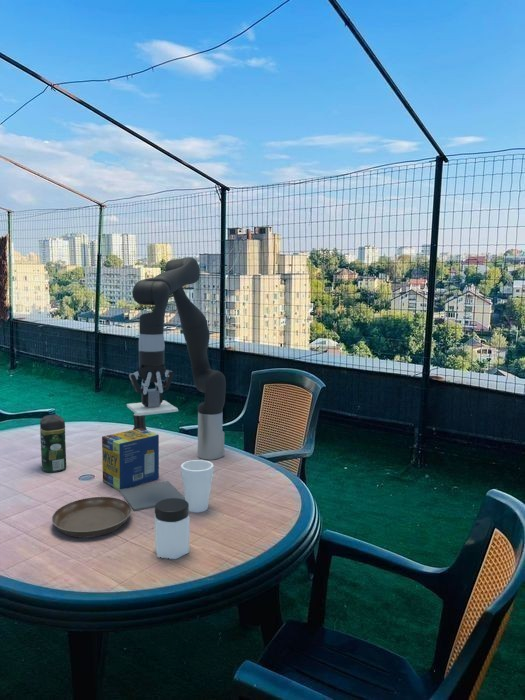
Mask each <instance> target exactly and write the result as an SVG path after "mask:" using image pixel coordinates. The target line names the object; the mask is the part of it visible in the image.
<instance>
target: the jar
mask: <svg viewBox="0 0 525 700" xmlns="http://www.w3.org/2000/svg"><path fill="white" fill-rule="evenodd" d="M189 513H190V511H189V504H188V502H187V501H185V500H183V499H179V498H168V499H164V500H161V501H159V502H158V503H156V505H155V507H154V550H155V554H156V556H157V557H156V558H160V557H161V558H162V559H168V558H169V560H176V559H179V558H181V557H183V556H185V555H186V554H189V553H190V533H191V532H190V522H191V521H190V514H189ZM161 558H160V559H161Z"/></svg>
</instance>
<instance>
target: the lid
mask: <svg viewBox="0 0 525 700" xmlns="http://www.w3.org/2000/svg"><path fill="white" fill-rule="evenodd" d="M126 407H127V408H128V409H129V410H131V412H132V413H134V414H137V415H138V416H141V415H145V416H149V415H157V414H158V415H159V414H168V413H175V412H179V409H178V407H176V406H174V405H173V404H171V403H170V402H168V401H167V400H165V399H164V400H163V401H162V403H161V405H160V391H159V390H157V389H156V388H148V390H147V406H146V407H145V406H144V405H143V404H142V403H141V402H132V403H126Z"/></svg>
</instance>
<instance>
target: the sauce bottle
mask: <svg viewBox="0 0 525 700" xmlns="http://www.w3.org/2000/svg"><path fill="white" fill-rule="evenodd" d="M132 417H133V428H132V430H134V429H138V428H143V429H145V430H148V429H147V427H146V415H141V416H138V415H137V414H135V413H134V414H133V415H132Z"/></svg>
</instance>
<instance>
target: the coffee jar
mask: <svg viewBox="0 0 525 700" xmlns="http://www.w3.org/2000/svg"><path fill="white" fill-rule="evenodd" d="M39 423H40V424H39V427H40V429H39V431H40V432H39V436H40V452H41V453H40V454H41V468H42V470H43V471H44V472H46V473H58V472H61V471H64V470H65V469H66V468H67V454H66V453H67V452H66V451H67V445H66V421H65V419H64V418H63V417H62V416H60V415H58V414H49V415H44V416H43V417H42V418H41V419H40V421H39Z"/></svg>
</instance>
